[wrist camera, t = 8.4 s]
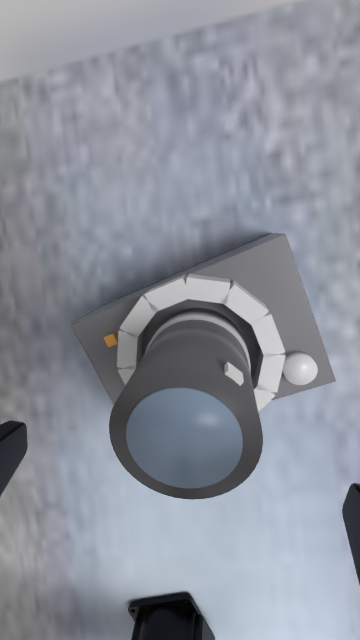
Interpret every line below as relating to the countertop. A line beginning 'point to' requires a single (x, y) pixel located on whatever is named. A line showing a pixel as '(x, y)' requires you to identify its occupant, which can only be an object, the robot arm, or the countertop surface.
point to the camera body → (230, 300)
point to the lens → (190, 409)
